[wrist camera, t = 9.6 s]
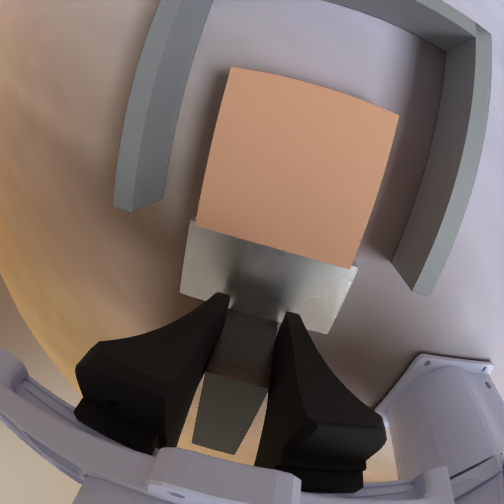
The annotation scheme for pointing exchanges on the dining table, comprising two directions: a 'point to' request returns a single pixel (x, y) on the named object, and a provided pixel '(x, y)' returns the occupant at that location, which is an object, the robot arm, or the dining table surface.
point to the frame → (441, 151)
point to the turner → (252, 321)
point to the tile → (294, 166)
